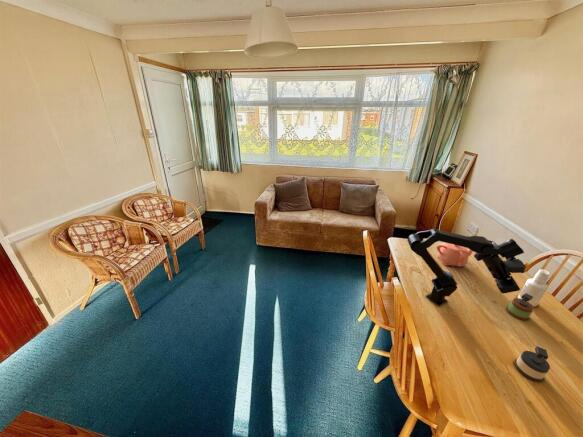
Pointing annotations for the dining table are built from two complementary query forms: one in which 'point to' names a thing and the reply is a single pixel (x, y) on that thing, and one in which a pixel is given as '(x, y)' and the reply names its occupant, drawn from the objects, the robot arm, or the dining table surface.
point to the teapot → (453, 254)
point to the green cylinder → (520, 309)
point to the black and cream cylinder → (532, 366)
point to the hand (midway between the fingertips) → (509, 287)
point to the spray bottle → (536, 287)
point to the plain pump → (541, 353)
